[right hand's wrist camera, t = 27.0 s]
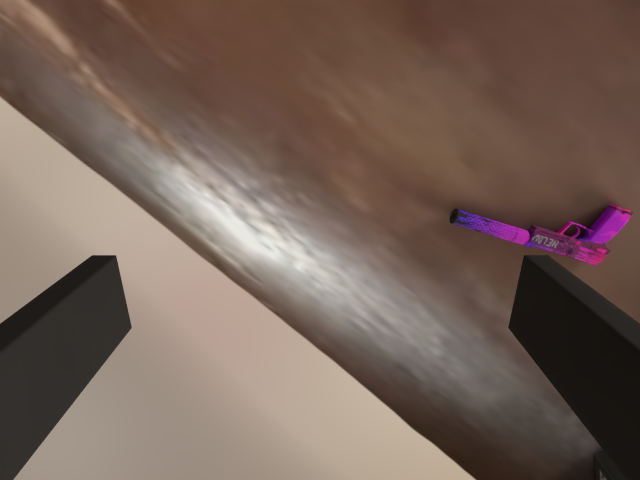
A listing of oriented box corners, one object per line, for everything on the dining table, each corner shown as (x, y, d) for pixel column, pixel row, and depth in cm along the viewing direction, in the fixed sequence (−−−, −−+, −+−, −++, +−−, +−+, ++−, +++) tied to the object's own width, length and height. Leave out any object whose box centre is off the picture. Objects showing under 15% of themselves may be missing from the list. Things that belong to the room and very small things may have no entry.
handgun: (626, 208, 47) (639, 213, 45) (594, 263, 50) (604, 270, 48) (472, 162, 45) (478, 165, 43) (446, 222, 48) (452, 227, 46)
